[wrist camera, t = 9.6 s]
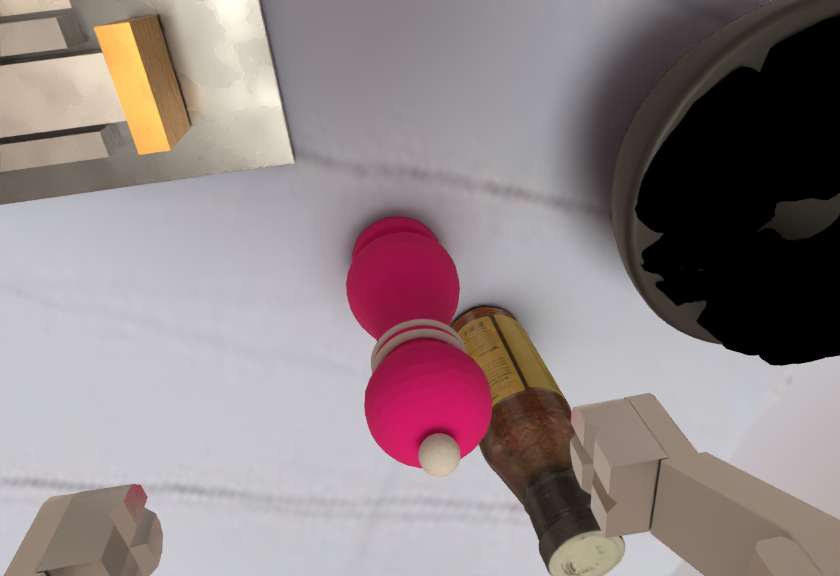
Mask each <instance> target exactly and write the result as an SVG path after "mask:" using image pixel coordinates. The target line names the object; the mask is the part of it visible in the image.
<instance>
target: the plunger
mask: <svg viewBox="0 0 840 576" xmlns="http://www.w3.org/2000/svg"><path fill="white" fill-rule="evenodd" d="M94 30H95V32H96V35H97V38H98V41H99V44H100V47H101V49H99V50H91V51H83V52H75V53H67V54H59V55H52V56H44V57H36V58H28V59H20V60H12V61H5V62H0V138H2V137H10V136H17V135H25V134H32V133H39V132H47V131H54V130H62V129H69V128H76V127H84V126H91V125H98V124H106V123H113V122H121V121H127V123H128V125H129V128H130V131H131V134H132V137H133V140H134V142H135V145H136V148H137V151H138V154H139V155H142V154H149V153H156V152H163V151H171V150H172V149H173V147H174V146H175V145H176V144H177V143H178V142H179V141H180V139H181V138H182V137H183V136H184V135H185V134H186V133H187V131H188V130H189V129H190V128H191V127H190V123H189V120H188V117H187V113H186V110H185V107H184V103H183V100H182V97H181V93H180V90H179V87H178V83H177V80H176V77H175V74H174V70H173V67H172V64H171V60H170V57H169V54H168V50H167V47H166V44H165V40H164V37H163V34H162V31H161V27H160V24H159V21H158V17H157V15H151V16H143V17H135V18H127V19H123V20H119V21H115V22H111V23H107V24H103V25H99V26H95V27H94Z"/></svg>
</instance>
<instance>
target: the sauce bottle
mask: <svg viewBox="0 0 840 576" xmlns="http://www.w3.org/2000/svg"><path fill="white" fill-rule="evenodd" d="M451 328H452V329H454V330H455V331H456V332H457V333H458V335H459V336H460V337H461V339H462V340H463V342H464V345H465V349H466V352H467V354H468V355H469V356H470V357H472V358H473V359H474V360H475V361H476V363H477V364H478V365H479V366H480V368H481V369H482V370H483V371H484V374H485V376H486V378H487V380H488V383H489V386H490V391H491V397H492V415H491V421H490V424H489V427H488V430H487V432H486V434H485V435H484V437H483V438H482V440H481V441H480V443H479V447H480V449H481V452H482V454H483V456H484V458H485V460H486V461H487V463H488V464H489V466H490V467H491V468H492V469H493V470H494V471H495V472H496V473H497V474H498V475H499V477H500V478H501V479H502V480H503V481H504V483H505V484H506V485H507V486H508V487H509V489H510V490H511V491H512V492H513V494H514V495H515V496H516V497H517V498H518V500H519V501H520V502H521V503H522V504H523V506H524V508H525V511H526V512H527V513H528V514H529V516H530V519H531V521H532V524H533V527H534V529H535V531H536V534H537V537H538V539H539V552H540V555H541V557H542V559H543V561H544V563H545V565H546V568H547V570H548V572H549V573H550V575H551V576H603V575H605V574H607V573H608V572H609V571H611V570H612V569H613V568H614V567H615V566H616V565H617V564H618V563H619V562H620V561H621V559H622V557H623V556H624V552H625V543H624V540H623V538H622V536H617V537H610V538H605V537H604V535H603V533H602V531H601V529H600V527H599V525H598V522H597V520H596V518H595V516H594V514H593V512H592V510H591V495H590V494H589V493H587V492H585V491H584V490H582V489H581V487H580V485H579V482H578V480H577V478H576V475H575V472H574V469H573V465H572V460H571V454H570V440H571V438H572V437H573V436H574V435H575V434H576V432H575V430H574V428H573V426H572V424H571V409H570V406H569V404H568V402H567V400H566V399H565V397H564V395H563V394H562V392H561V390H560V389H559V387H558V385H557V384H556V382H555V380H554V378H553V377H552V375H551V373H550V372H549V370H548V368H547V367H546V365H545V363H544V362H543V360H542V358H541V357H540V355H539V353H538V352H537V350H536V348H535V347H534V345H533V343H532V342H531V340H530V338H529V337H528V335H527V333H526V332H525V330H524V329H523V327H522V326H521V325H520V324H519V323H518V322H517V321H516V319H515V318H514V317H513V315H512V314H510V313H508V312H506V311H504V310H502V309H497V308H489V307H481V308H476V309H473V310H471V311H469V312H467V313H466V314H464V315H462V316H461V317H459V318H458V320H456V321H455V322H454V324H453V325H452V326H451Z"/></svg>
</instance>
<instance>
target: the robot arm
mask: <svg viewBox="0 0 840 576" xmlns="http://www.w3.org/2000/svg"><path fill="white" fill-rule="evenodd" d="M571 424H572V426H573V428H574V430H575V432H576V434H575V435H574V436H573V437H572V438H571V440H570V454H571V460H572V465H573V469H574V472H575V475H576V478H577V480H578V482H579V485H580V487H581V489H582V490H584V491H585V492H587V493H589V494H590V495H591V510H592V512H593V514H594V516H595V518H596V520H597V522H598V525H599V527H600V529H601V531H602V533H603V535H604V537H605V538H610V537H617V536H623V535H629V534H635V533H642V532H648V531H651V534H652V535H653V536H654V537H656V538H657V539H658V540H660V541H661V542H662V543H663V544H665V545H666V546H667V547H668V548H670V549H671V550H672V551H674V552H675V553H676V554H677V555H679V556H680V557H681V558H682V559H684V560H685V561H686V562H688V563H689V564H690V565H692V566H693V567H694V568H695V569H696V570H698V571H699V572H700V573H702V574H703V575H704V576H840V520H839V519H837V518H835V517H833V516H831V515H829V514H827V513H825V512H823V511H821V510H819V509H817V508H815V507H813V506H811V505H809V504H807V503H805V502H804V501H802V500H799V499H797V498H796V497H794V496H792V495H790V494H788V493H786V492H784V491H782V490H780V489H778V488H776V487H774V486H772V485H770V484H768V483H766V482H764V481H762V480H760V479H758V478H756V477H754V476H752V475H750V474H748V473H746V472H744V471H742V470H740V469H738V468H736V467H734V466H732V465H730V464H728V463H726V462H724V461H723V460H721V459H719V458H717V457H715V456H713V455H711V454H709V453H707V452H703V453H698V452H697V451H696V450H695V449H694V447H693V446H692V445H691V443H690V442H689V441H688V439H687V438H686V437H685V435H684V434H683V433H682V431H681V430H680V429H679V427H678V426H677V425H676V424H675V422H674V421H673V420H672V418H671V417H670V416H669V414H668V413H667V412H666V410H665V409H664V408H663V406H662V405H661V404H660V402H659V401H658V400H657V399H656V397H655V396H654V395H652V394H650V393H647V394H641V395H636V396H631V397H625V398H624V399H622V398H621V399H615V400H610V401H604V402H599V403H594V404H588V405H583V406H577V407H573V410H572V412H571ZM146 500H147V495H146V494H145V492H144V490H143V488H142V487H141V485H137V484H131V485H124V486H117V487H111V488H104V489H97V490H91V491H84V492H79V493H75V494H68V495H61V496H54V497H51V498H49V499H48V500H47V501H46V502H44V503H43V505H42V506H41V508H40V510H39V512H38V514H37V516H36V517H35V519H34V521H33V523H32V525H31V527H30V529H29V530H28V532H27V534H26V536H25V538H24V540H23V541H22V543H21V545H20V547H19V549H18V551H17V552H16V554H15V556H14V558H13V560H12V562H11V563H10V565H9V567H8V569H7V571H6V573H5V575H4V576H150V575H151V574H152V573H153V571H154V570H155V569H156V568H157V567H158V565H159V561H160V558H161V554H162V542H163V534H162V529H161V524H160V521H159V519H158V517H157V515H156V514H155V513H154V512H152V511H150V510H148V509H146V508H144V506H145V503H146Z"/></svg>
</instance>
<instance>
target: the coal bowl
mask: <svg viewBox="0 0 840 576" xmlns="http://www.w3.org/2000/svg"><path fill="white" fill-rule="evenodd" d="M611 207H612V220H613V228H614V234H615V239H616V243H617V247H618V250H619V253H620V256H621V259H622V261H623V264H624V267H625V269H626V271H627V273H628V275H629V277H630V279H631V281H632V282H633V284H634V286H635V288H636V289H637V291H638V292H639V294H640V295H641V296H642V298H643V299H644V301H645V302H646V303H647V305H648V306H649V307H650V308H651V309H652V310H653V311H654V312H655V313H656V315H657V316H659V317H660V318H661V319H662V320H664V321H665V322H666V323H667V324H669V325H670V326H672V327H674V328H675V329H677V330H679V331H680V332H683V333H685V334H687V335H689V336H691V337H694V338H697V339H700V340H703V341H706V342H711V343H716V344H723V346H724V347H725V348H726V349H729V350H732V351H736V352H740V353H743V354H745V355H759V356H760V358H761V359H762V360H764V361H766V362H767V363H769V364H770V365H780V366H782V365H788V364H801V363H806V362H811V361H815V360H819V359H823V358H825V357H834V356H840V0H779V1H776V2H773V3H770V4H768V5H765V6H763V7H760V8H758V9H756V10H754V11H751V12H749V13H747V14H745V15H743V16H741V17H739V18H737V19H735V20H734V21H732V22H730V23H728V24H726V25H725V26H723V27H721V28H719V29H718V30H717V31H715V32H714V33H712V34H711V35H709V36H708V37H706V38H705V39H703V40H702V41H701V42H699V43H698V44H697V45H696V46H694V47H693V48H692V49H691V50H689V51H688V52H687V53H686V54H684V55H683V56H682V57H681V58H680V59H679V60H678V61H677V62H676V63H675V64H674V65H673V66H672V67H671V68H670V69H669V70H668V71H667V72H666V73H665V74H664V75H663V76H662V77H661V79H660V80H659V81H658V82H657V83H656V85H655V86H654V87H653V89H652V90H651V91H650V92H649V94H648V95H647V97H646V98H645V100H644V101H643V103H642V104H641V106H640V107H639V109H638V111H637V113H636V114H635V116H634V118H633V120H632V121H631V124H630V126H629V128H628V130H627V132H626V134H625V137H624V139H623V142H622V145H621V148H620V150H619V154H618V158H617V161H616V165H615V171H614V176H613V184H612V198H611Z"/></svg>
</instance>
